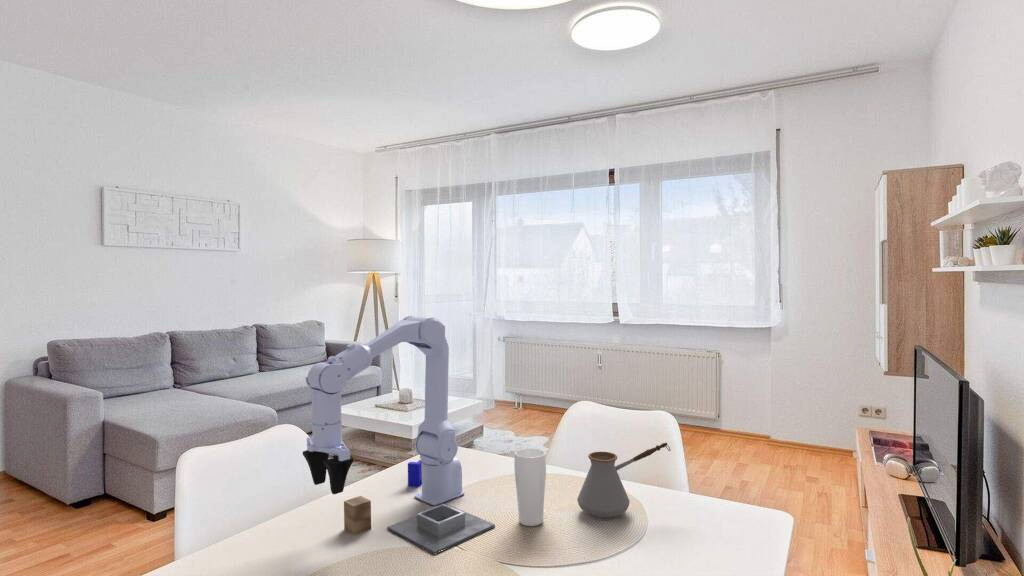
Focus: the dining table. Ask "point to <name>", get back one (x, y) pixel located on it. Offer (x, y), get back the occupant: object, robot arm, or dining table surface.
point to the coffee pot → (607, 485)
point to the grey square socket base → (440, 528)
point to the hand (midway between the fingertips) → (328, 488)
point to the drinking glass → (530, 485)
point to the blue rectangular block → (414, 474)
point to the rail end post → (357, 515)
